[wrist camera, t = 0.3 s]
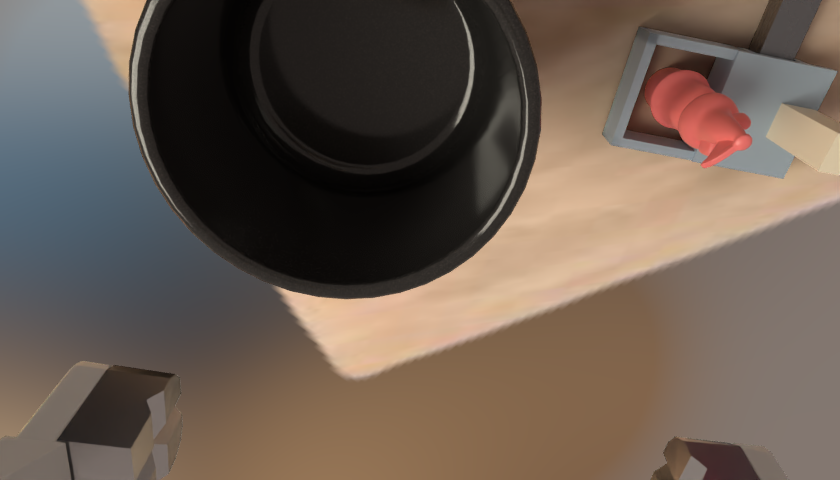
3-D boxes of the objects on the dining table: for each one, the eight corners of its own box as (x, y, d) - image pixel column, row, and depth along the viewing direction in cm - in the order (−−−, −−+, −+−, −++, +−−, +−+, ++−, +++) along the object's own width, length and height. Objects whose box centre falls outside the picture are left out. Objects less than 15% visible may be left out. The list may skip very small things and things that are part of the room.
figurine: (661, 130, 56) (732, 197, 43) (625, 93, 54) (688, 150, 41) (708, 89, 54) (798, 145, 41) (672, 49, 53) (753, 94, 39)
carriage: (639, 26, 51) (689, 53, 42) (815, 62, 53) (905, 97, 43) (602, 134, 56) (639, 181, 46) (765, 165, 57) (836, 218, 47)
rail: (824, -128, 46) (840, -130, 44) (861, -119, 46) (878, -121, 45) (707, 144, 56) (716, 152, 55) (737, 150, 57) (747, 158, 55)
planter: (516, -72, 48) (596, -60, 25) (467, 158, 57) (492, 325, 34) (268, -119, 47) (110, -151, 24) (258, 124, 56) (136, 273, 33)
